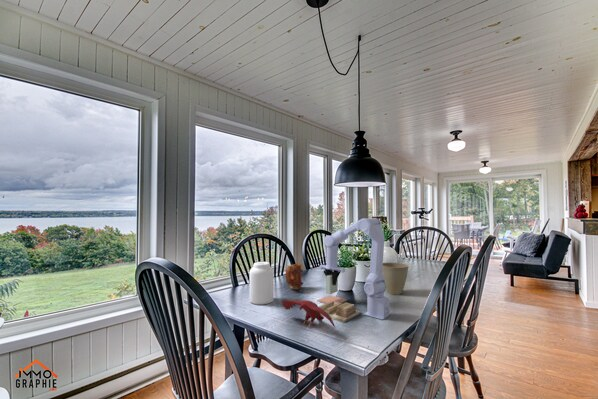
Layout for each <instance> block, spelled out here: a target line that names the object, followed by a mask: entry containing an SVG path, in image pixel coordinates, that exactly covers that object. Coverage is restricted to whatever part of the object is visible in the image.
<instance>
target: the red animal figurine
mask: <svg viewBox="0 0 598 399" xmlns="http://www.w3.org/2000/svg"><path fill="white" fill-rule="evenodd" d="M282 305H283V308H284V309H285V310H291V308H294V307H296V305H297V306H299V310H300V311H301V310H303V311H304V312H305V317H304V318H305V319H304V322H302V323H301V324H302V325H305V323H306V321H308V320H310V322H309V324H308V325H306V326H308V327H310V325H311V324H312V323H314V321H315V320H318V321H320V322H323V320H324V319H327V320H328V321H329V322H330V324H331V325H332V326H333V327H334V328H336V326H335V324H334V323H335V322H334V321H333V319H331V317H330V316H329V314H328V313H326V312H325V311H324V310H322V309H321V308H319V306H318V305H317V304H316V303H315V302H314V301H311V300H306V299H305V300H293V299H289V300H288V299H286V300H283V301H282ZM321 314H322V315H324V316H325V317H324V316H322V315H321Z"/></svg>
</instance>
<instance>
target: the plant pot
mask: <svg viewBox="0 0 598 399" xmlns="http://www.w3.org/2000/svg"><path fill="white" fill-rule="evenodd" d="M408 273H409V265H408V264H406V263H402V262H401V263H400V262H383V268H382V275H383V276H384V277H385V283H386V290H387V293H389V294H390V295H393V296H394V295H395V296H397V295H401V294H402V293H403V291H404V287H405V284H406V282H407V277H408Z"/></svg>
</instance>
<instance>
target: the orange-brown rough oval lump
mask: <svg viewBox="0 0 598 399" xmlns="http://www.w3.org/2000/svg"><path fill="white" fill-rule="evenodd" d="M303 272H304V270H303V269H302V265H301V264H299V263H294V264H290V265H287V266H286V270H285V281H286V283H287V285H289V289H291V290H301V289H302V286H303V285H304V282H303V281H302V273H303Z"/></svg>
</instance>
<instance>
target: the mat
mask: <svg viewBox="0 0 598 399" xmlns="http://www.w3.org/2000/svg"><path fill="white" fill-rule="evenodd" d="M316 301H317V302H318V303H322V304H326V303H328V302H331V301H334V304H335V305H336V304H338V303H342V304H344V303H346V302H347V301H348V299H347V298H342V297H338V296H334V295H332V294H328V295H327V296H324V297H321V298H319V299H317V300H316Z"/></svg>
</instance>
